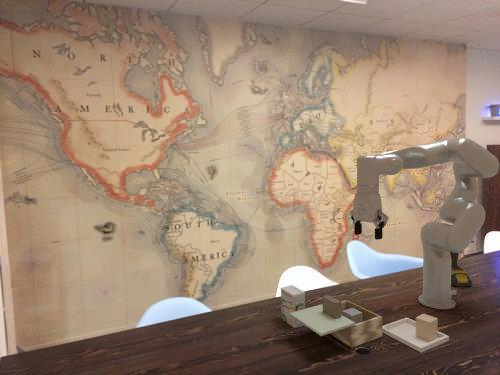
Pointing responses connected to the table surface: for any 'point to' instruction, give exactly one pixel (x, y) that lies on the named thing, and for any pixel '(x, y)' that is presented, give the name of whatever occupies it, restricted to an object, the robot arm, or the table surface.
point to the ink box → (291, 304)
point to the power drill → (458, 272)
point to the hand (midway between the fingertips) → (368, 236)
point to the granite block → (353, 315)
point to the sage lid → (323, 317)
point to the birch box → (360, 327)
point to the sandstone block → (426, 327)
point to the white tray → (411, 335)
